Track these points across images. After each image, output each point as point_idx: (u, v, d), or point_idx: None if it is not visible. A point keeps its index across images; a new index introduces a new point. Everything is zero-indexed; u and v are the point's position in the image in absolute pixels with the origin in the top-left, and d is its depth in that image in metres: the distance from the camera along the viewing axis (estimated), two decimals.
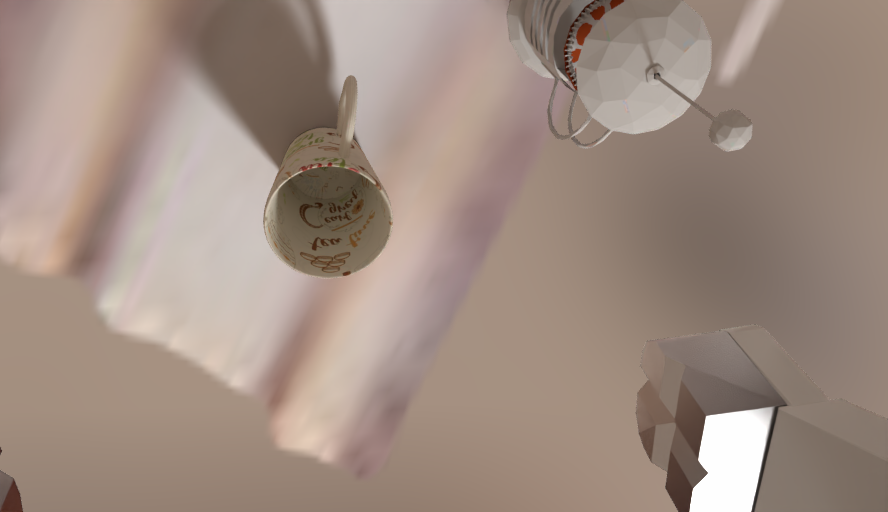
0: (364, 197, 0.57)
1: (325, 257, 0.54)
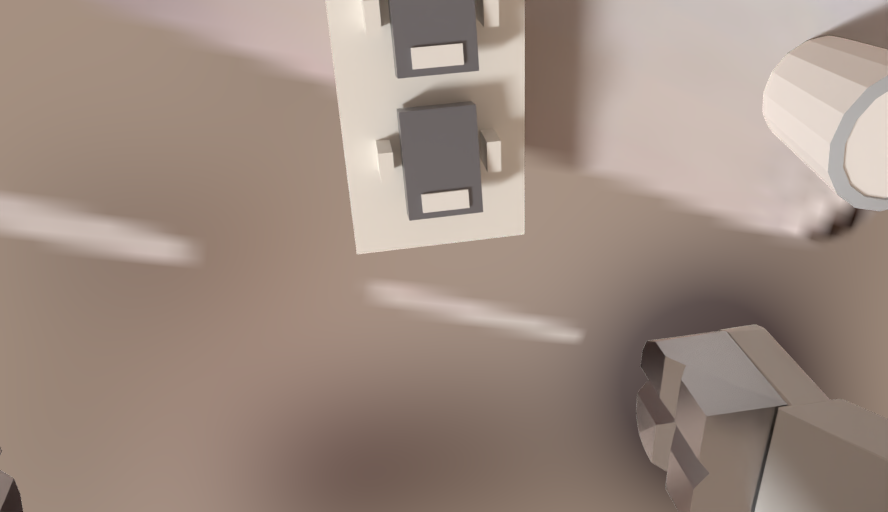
0: None
1: None
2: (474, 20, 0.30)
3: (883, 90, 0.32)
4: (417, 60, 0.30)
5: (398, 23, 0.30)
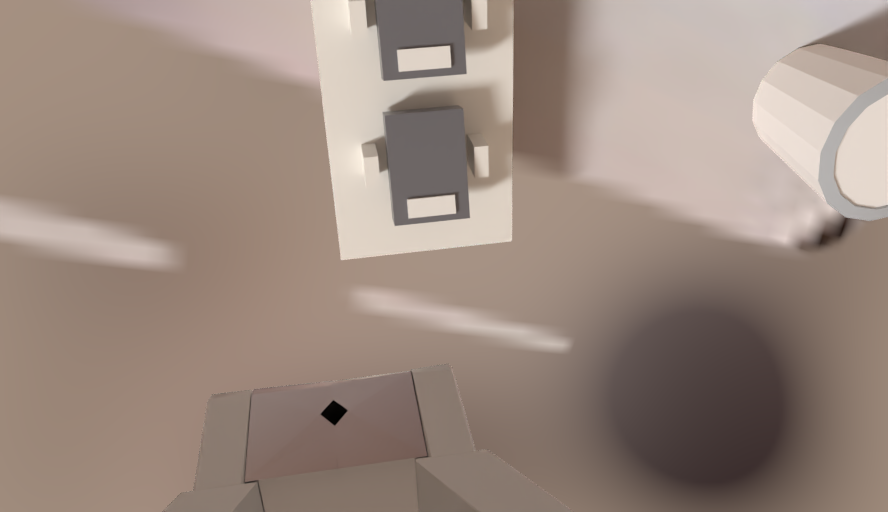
0: None
1: None
2: (462, 22, 0.29)
3: (874, 99, 0.32)
4: (403, 62, 0.29)
5: (384, 24, 0.29)
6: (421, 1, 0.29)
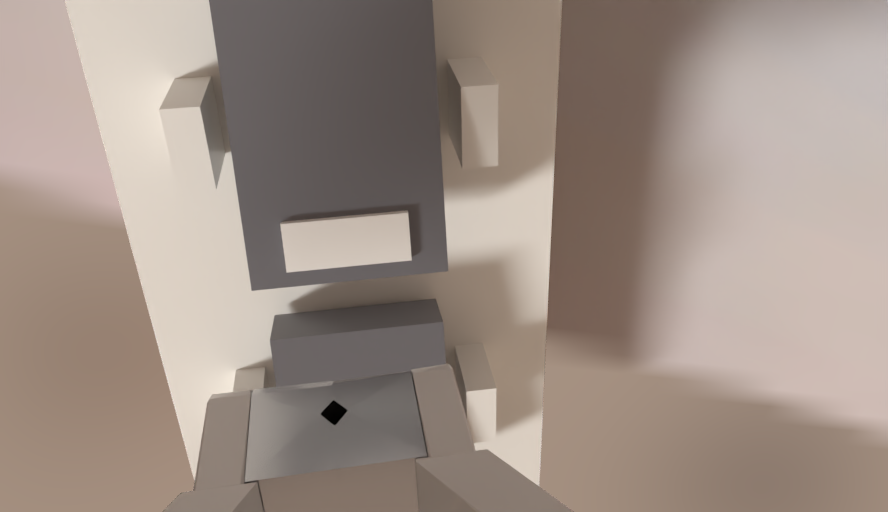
0: None
1: None
2: (438, 158, 0.12)
3: None
4: (296, 252, 0.12)
5: (248, 165, 0.12)
6: (337, 111, 0.12)
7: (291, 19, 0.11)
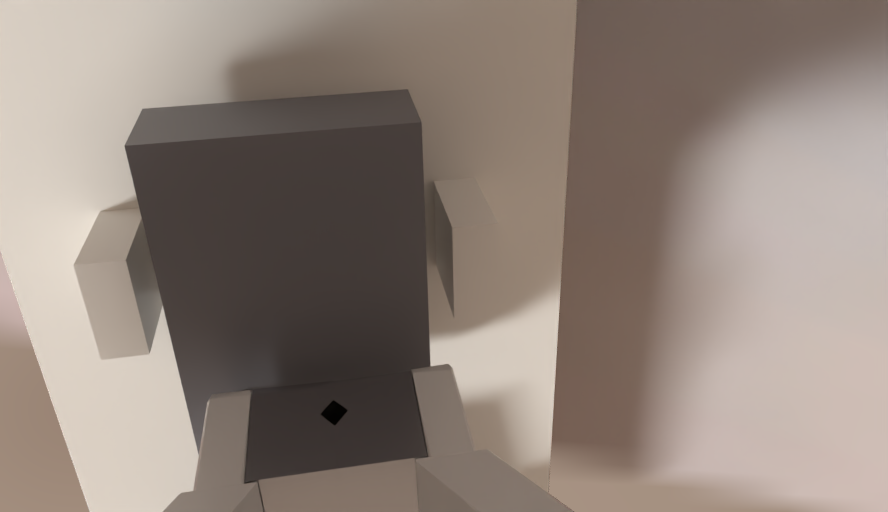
0: None
1: None
2: (424, 321, 0.10)
3: None
4: None
5: (190, 339, 0.10)
6: (301, 278, 0.09)
7: (239, 178, 0.09)
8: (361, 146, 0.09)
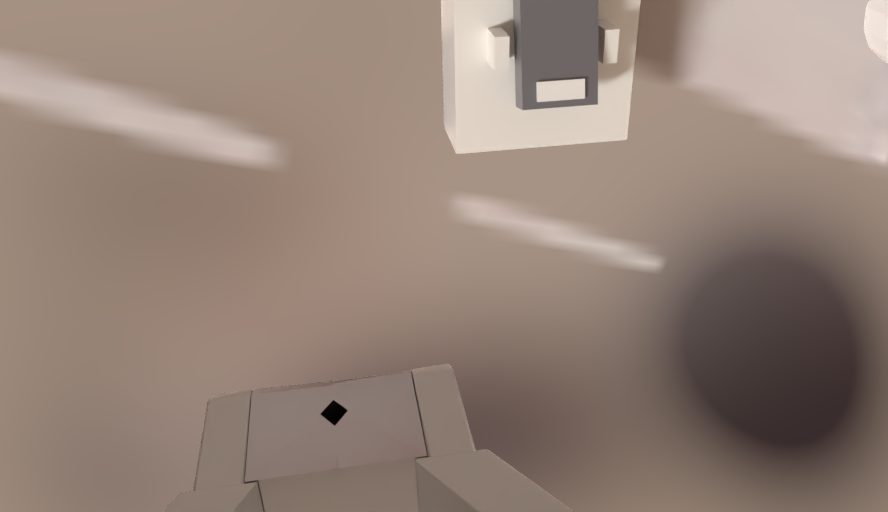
0: None
1: None
2: None
3: None
4: None
5: None
6: None
7: None
8: None
